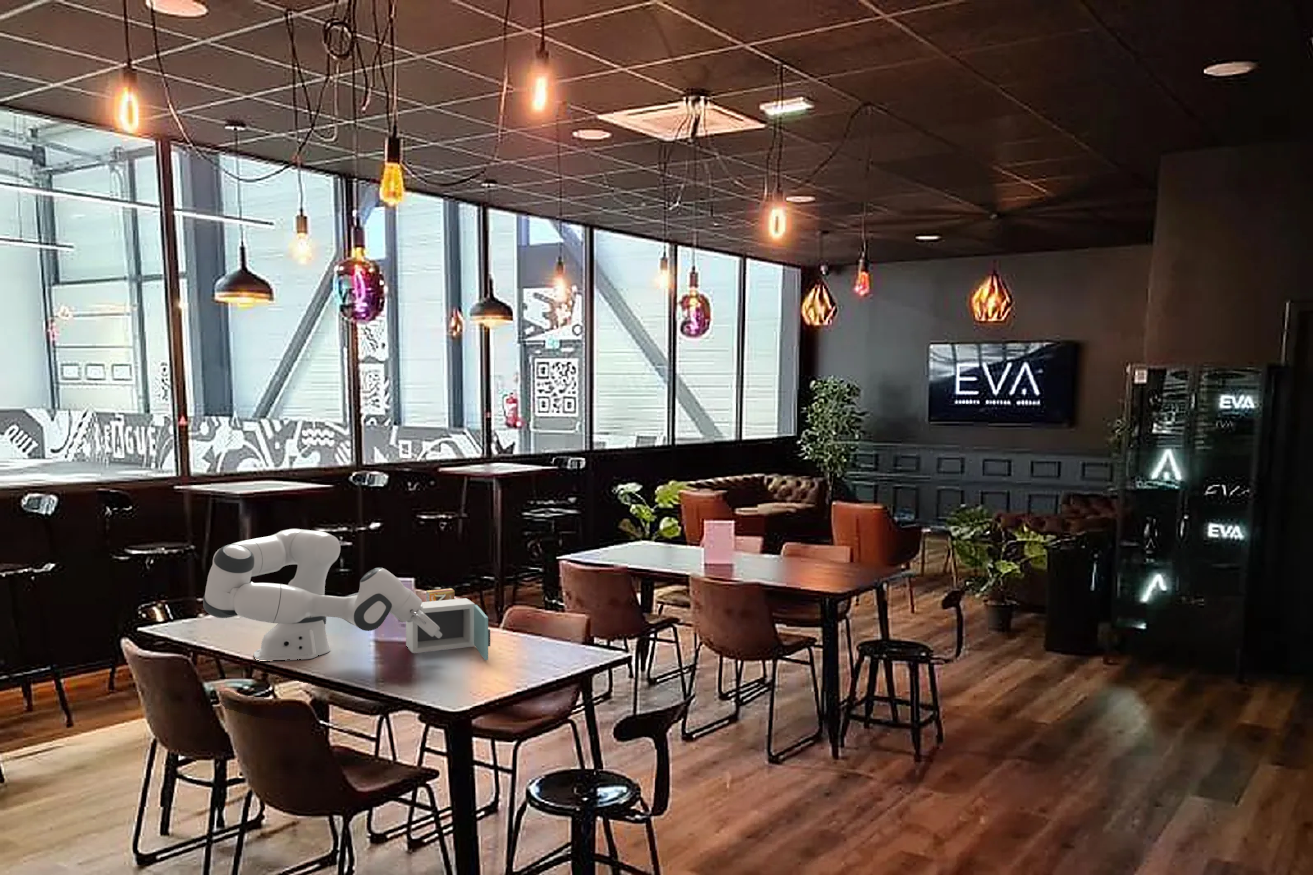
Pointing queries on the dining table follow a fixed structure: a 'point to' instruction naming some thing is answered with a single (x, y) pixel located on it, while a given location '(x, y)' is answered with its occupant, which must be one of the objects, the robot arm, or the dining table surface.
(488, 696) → the dining table surface
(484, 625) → the door
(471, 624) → the case
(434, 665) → the dining table surface
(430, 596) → the candy box
